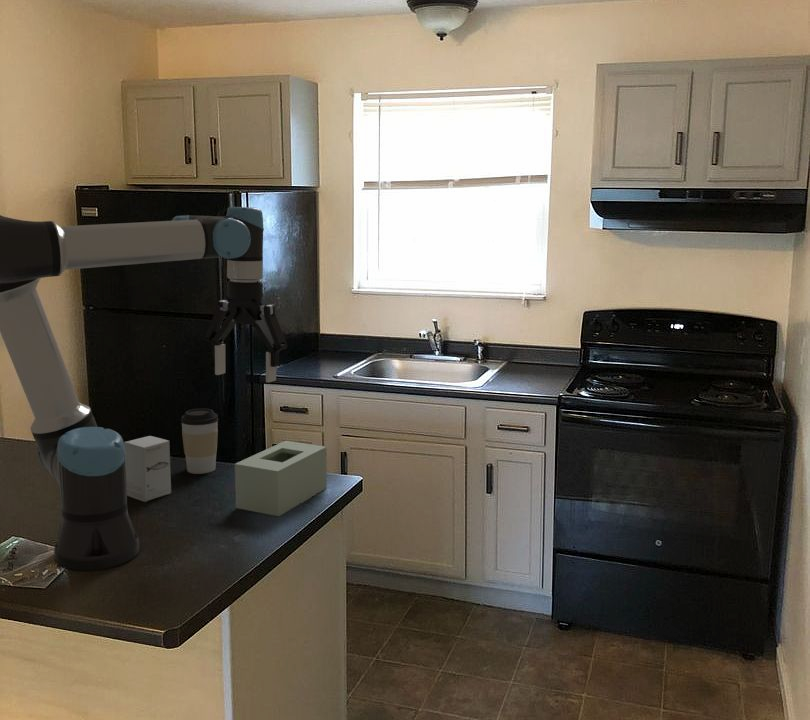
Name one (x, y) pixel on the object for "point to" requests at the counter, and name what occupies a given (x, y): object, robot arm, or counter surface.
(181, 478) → the counter surface
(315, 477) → the grey box with slot
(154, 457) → the supplement box
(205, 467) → the coffee cup
